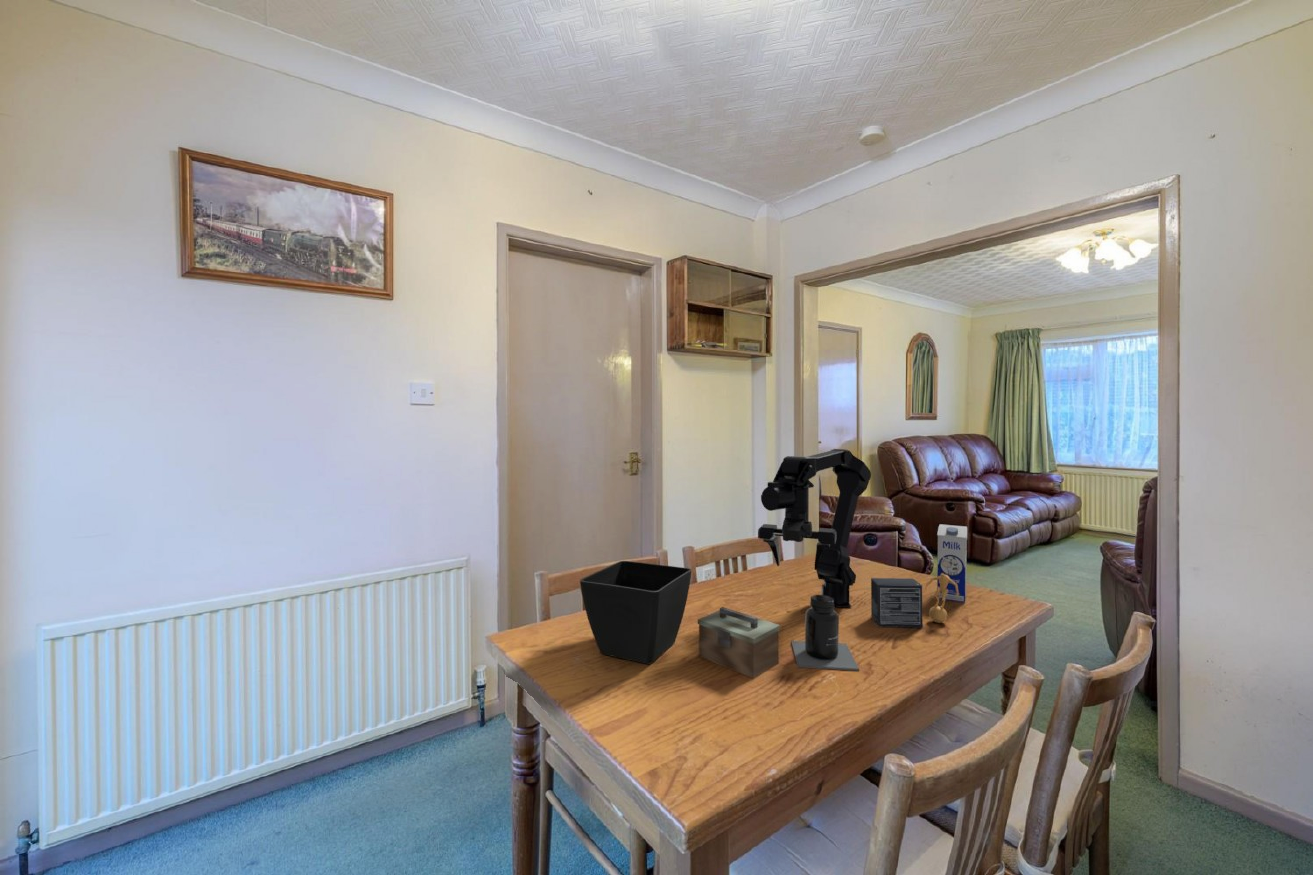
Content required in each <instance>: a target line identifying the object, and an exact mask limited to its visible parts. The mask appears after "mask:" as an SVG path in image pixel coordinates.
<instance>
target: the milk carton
mask: <svg viewBox="0 0 1313 875" xmlns="http://www.w3.org/2000/svg"><path fill="white" fill-rule="evenodd" d="M936 536H937V569H936V570H937V576H936V577H938V576H940V575H941V573H943V574H945V575H948V576H949V578H950V579H951V580H952V581H953V582H955V583H956V584H957V585H958V593H959V598H957V597H956V596H957V595H956V594H957V592H956V587H955V585H953V584H952V583H950V582H949V583H948V585H947V587H946V589H948V593H947V595H946V597H945V598H944V599H945V600H946V601H949V600H951V602H956V601H957V602H958V603H963V604H965V603H966V600H967V599H966V597H967V551H968V550H967V549H968V547H967V544H968V543H967V541H968V526H964V525H952V524H951V525H950V524H939V526H938V527H937V534H936ZM936 585H937V586H936V588H937V587H939V588H940V583H939V579H938V580H937V583H936ZM941 593H942V592H940V594H939V595H938V596H937V597H939V600H942V594H941ZM957 602H956V603H957Z"/></svg>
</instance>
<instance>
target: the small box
mask: <svg viewBox="0 0 1313 875" xmlns="http://www.w3.org/2000/svg"><path fill="white" fill-rule="evenodd" d="M870 584H871V585H870V589H871V590H870V591H871V592H870V602H871V605H870V608H871V610H870V611H871V612H870V613H871V615H870V618H871V620H872V621H873V622H874V623H875V624H876V626H877V627H878V628H917V629H922V628H924V624H923V585H922V584H921V583H919V582H918V581H917V580H916V579H914V578H905V577H904V578H900V577H899V578H897V577H895V578H894V577H893V578H892V577H891V578H889V577H888V578H887V577H884V578H883V577H871V578H870Z"/></svg>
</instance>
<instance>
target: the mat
mask: <svg viewBox="0 0 1313 875" xmlns="http://www.w3.org/2000/svg"><path fill="white" fill-rule="evenodd" d="M790 642H791V643H790V644H791V647H792V650H793V655H794V658H795V661H796V662H795V663H796V666H797V668H806V669H819V670H820V669H822V670H824V669H825V670H840V671H860V667H859V665H858V664H857V662H856V660H855V658H854V656H853V654H852V652H851V650H850V649H849V646H848V645H847V643H843V642H838V655H837V657H835V658H833V659H828V660H824V659H818V658H814V657H812V656H810V655H808V654H807V652H806V650H805V641H804V640H790Z"/></svg>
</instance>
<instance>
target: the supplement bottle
mask: <svg viewBox="0 0 1313 875" xmlns="http://www.w3.org/2000/svg"><path fill="white" fill-rule="evenodd" d="M809 606H810V607H809V608H808V609H807V610H806V611H805V628H804V630H805V631H804V632H805V634H804V636H805V637H804V638H805V650H806V652H807V654H808V655H810V656H812V657H814V658H818V659H824V660H828V659H833V658H835V657H837V655H838V643H839V638H840V637H839V634H840V633H839V629H840V628H839V626H840V625H839V624H840V620H839V619H840V618H839V614H838V612H837V611H836V610H834V609H835V607H834V599H833V598H832V597H829V596H826V595H822V594H813V595H811V596H810V602H809Z"/></svg>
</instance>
